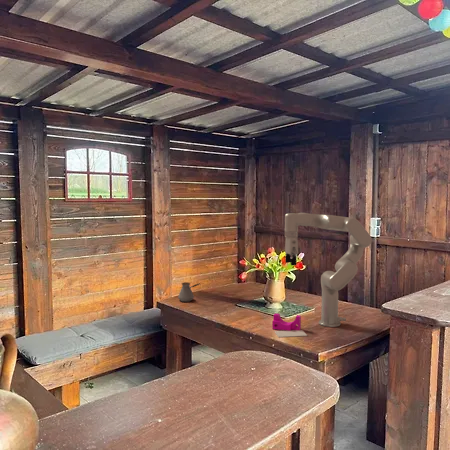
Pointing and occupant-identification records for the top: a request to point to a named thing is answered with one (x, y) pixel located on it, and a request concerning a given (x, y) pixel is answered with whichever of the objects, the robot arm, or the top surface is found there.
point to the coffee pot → (186, 292)
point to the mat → (290, 333)
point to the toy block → (286, 323)
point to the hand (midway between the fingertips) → (290, 263)
